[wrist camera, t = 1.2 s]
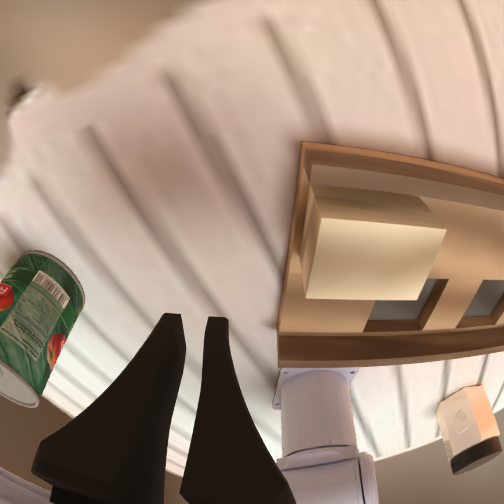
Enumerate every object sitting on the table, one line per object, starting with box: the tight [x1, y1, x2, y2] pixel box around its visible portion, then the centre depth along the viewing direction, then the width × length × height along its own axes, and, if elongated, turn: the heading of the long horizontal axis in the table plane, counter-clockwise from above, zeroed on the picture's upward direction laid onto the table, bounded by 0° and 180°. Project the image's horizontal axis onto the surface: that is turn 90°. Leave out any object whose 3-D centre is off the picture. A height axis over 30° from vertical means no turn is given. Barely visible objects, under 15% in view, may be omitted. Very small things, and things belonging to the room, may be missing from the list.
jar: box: [436, 385, 502, 475], centre depth 33 cm, size 9×8×12 cm
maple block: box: [299, 184, 447, 300], centre depth 17 cm, size 5×7×4 cm
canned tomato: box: [0, 251, 85, 408], centre depth 21 cm, size 8×8×11 cm
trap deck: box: [277, 142, 504, 368], centre depth 21 cm, size 16×26×4 cm, turn 87°
